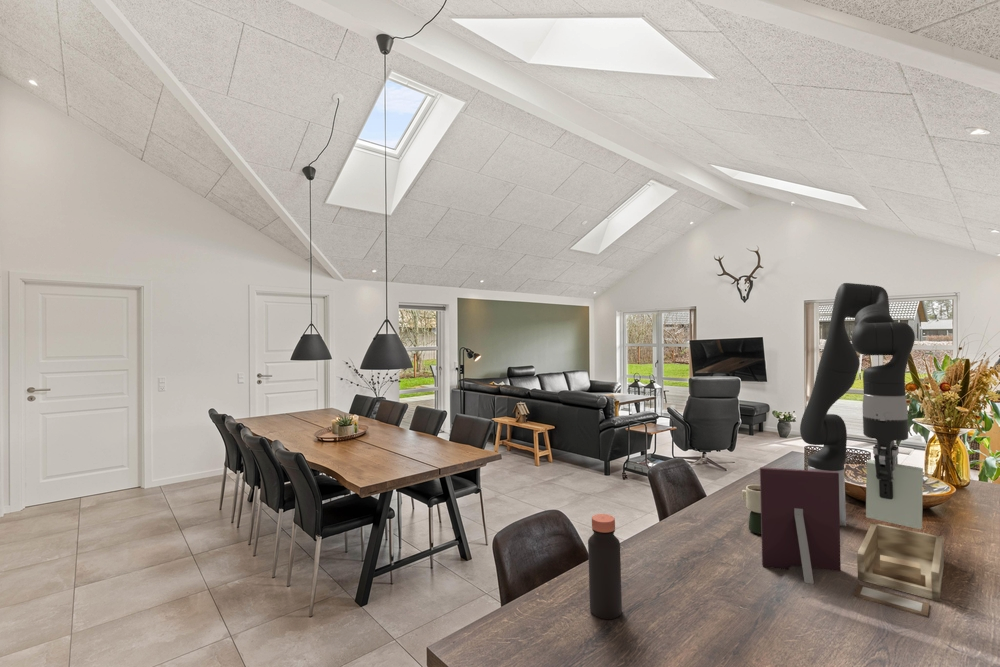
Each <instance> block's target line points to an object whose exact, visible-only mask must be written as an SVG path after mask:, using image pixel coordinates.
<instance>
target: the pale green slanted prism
mask: <svg viewBox="0 0 1000 667" xmlns="http://www.w3.org/2000/svg"><path fill="white" fill-rule="evenodd" d="M891 466H892V465H891ZM865 472H866V475H865V476H866V479H865V480H866V486H865V490H866V491H865V495H866V496H865V518H868V519H872V520H875V521H876V520H877V521H881V522H885V523H890V524H894V525H900V526H903V527H908V528H913V529H917V530H922V528H923V493H924V492H923V490H924V489H923V486H924V485H923V484H924V482H923V481H924V468H923V467H919V466H918V467H917V466H911V465H907V464H906V465H905V464H899V463H898V464H896V470H894V471H893V478H894V480H893V499H885V498H881V497H880V493H879V480H878V479H877V477H876V468H875V459H874V460H873V459H867V461H866V471H865ZM881 474H888V472H885V471H881Z"/></svg>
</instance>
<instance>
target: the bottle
mask: <svg viewBox="0 0 1000 667" xmlns="http://www.w3.org/2000/svg"><path fill="white" fill-rule="evenodd" d="M591 529H592V532H593V533H592V534H591V536H589V538H588V540H587V552H588V556H587V558H588V559H587V560H588V591H589V592H588V593H589V611H590V612H591V614H593V615H594V616H596V617H597V618H599V619H604V620H613V619H617V618H618V617H620V616H621V615H622V612H623V604H622V602H623V601H622V598H623V596H622V568H621V567H622V565H621V562H622V561H621V543H620V540H619V539H618V537H617V536H616V535H615V534H614V533H615V532H616V519H615V516H613V515H611V514H605V513H598V514H594V515H592V516H591Z"/></svg>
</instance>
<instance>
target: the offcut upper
mask: <svg viewBox="0 0 1000 667" xmlns="http://www.w3.org/2000/svg"><path fill="white" fill-rule="evenodd" d="M880 571H883V572H888V573H892V574H897V575H901V576H906V577H910V578H915V579H919V580H921V568H920V563H918V562H913V561H908V560H903V559H898V558H893V557H889V556H884V555H880Z"/></svg>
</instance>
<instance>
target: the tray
mask: <svg viewBox="0 0 1000 667" xmlns="http://www.w3.org/2000/svg"><path fill="white" fill-rule="evenodd" d="M864 536H865V537H864V538H863V540H862V542H861V545H860V546H859V549H858V550H857V553H856V560H857V562H856V565H857V566H856V568H857V580H859V581H863V582H866V583H870V584H872V585H873V584H874V585H877V586H879V587H880V586H881V587H885V588H889V589H892V590H896V591H899V592H903V593H907V594H909V595H914V596H918V597H920V598H925V599H929V600H932V601H936V602H940V601H941V592H942V585H943V584H942V583H943V572H944V565H945V555H944V554H945V553H944V552H945V551H944V536H939V535H935V534H929V533H925V532H920V531H914V530H909V529H904V528H900V527H895V526H890V525H885V524H880V523H875V522H871V523H870V526H869V528H868V529H867V532H866V534H865V535H864ZM880 555H884V556H889V557H893V558H898V559H903V560H908V561H913V562H918V563H920V568H921V574H922V575H925V581H926V587H924V586H920V585H916V584H912V583H908V582H904V581H901V580H897V579H893V578H889V577H885V576H881V575H878V574H874V573H873V571H872V568H873V566H874V563H877V564H880Z"/></svg>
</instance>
